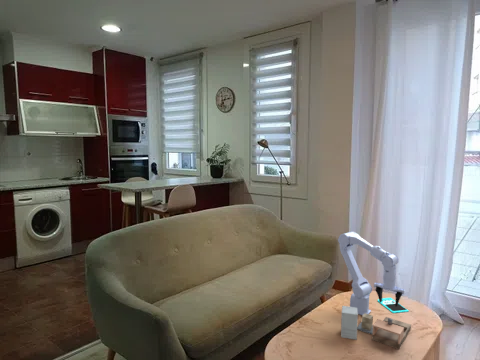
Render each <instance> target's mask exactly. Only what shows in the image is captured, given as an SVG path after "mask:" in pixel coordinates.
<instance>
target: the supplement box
mask: <svg viewBox="0 0 480 360" xmlns="http://www.w3.org/2000/svg"><path fill="white" fill-rule="evenodd" d="M358 316H359V314H358V311H357V308H355V307H350V306H349V305H347V306H346V305H342V307H341V326H340V327H341V328H340V337H341V338H344V339H345V338H346V339H350V340H356V341H357V340H358V330H357V326H358V322H359V321H358V318H359V317H358Z"/></svg>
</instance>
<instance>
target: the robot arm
mask: <svg viewBox="0 0 480 360" xmlns="http://www.w3.org/2000/svg"><path fill="white" fill-rule="evenodd" d="M337 242H338V243H339V244H338V245H339V251H340V254H341V255H342V257H343V260H344V263H345V265H346V267H347V270H348V271H349V272H348V273H349V274H350V276H351V279H352V283H351V288H352V293H351V294H350V295H351V296H350V298H349V307H355V308H357V311H358V315H360V316H363V315H364V314H365V313H366V314H369V315H370V313H371V312H372V309H370V296H371V295H370V294H371V293H372V292H373V288H375V289H374V291H375V292H376V295H377V297H378V299H379V302H382V298H383V291H384V290H385V291H388V292H389V291H391V292H393V293H395V295H394V297H395V301H396V302H395V307H397V306H398V303H399V302H400V300H401V297H402V296H403V295H405V294H406V289H404V288H401V287H399V286H397V285H396V281H397V280H396V279H397V265H398V263H399V258H398V256H397V255H396V254H395V253H390V252H389V251H386V250H384V249H383V248H382V247H381V246H380V245H372V244H371V243H370V242H368V241H367V240H366V239H364V238H362V236H360V234H359V233H357V232H355V231H353V230H351V231H348V232H346V233H345V232H344V233H341V234H339V237H338V239H337ZM353 245H358V246H359V247H361V248H363V249H365V250H366V251H368V252H369V253H370V255H371V256H372V257H374V258H375V259H377V260H378V261H379V262H381V264H382V266H383V278H382V279H383V281H382V282H383V283H381V282H374V283H373V287H372V285H371V283H369V281H368V279H366V278H365V277H363V274H362V272H361V270H360V268H359V265H358V263H357V261H356V259H355V256H354V254H353V251H352V248H353ZM379 302H378V303H379Z"/></svg>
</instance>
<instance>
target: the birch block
mask: <svg viewBox="0 0 480 360" xmlns="http://www.w3.org/2000/svg"><path fill="white" fill-rule="evenodd" d="M361 322H362V328H364V329H367V330H370V329H371V328H372V325H373V324H374V316H373V315H372V314H370V313H369V314H366V313H365V314H364V315H361Z"/></svg>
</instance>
